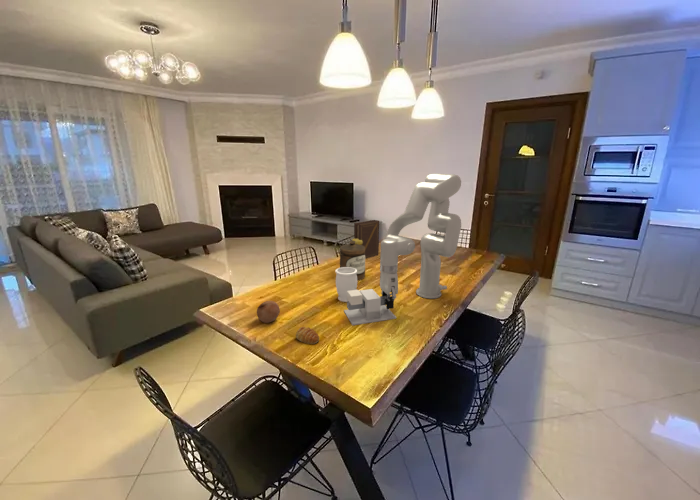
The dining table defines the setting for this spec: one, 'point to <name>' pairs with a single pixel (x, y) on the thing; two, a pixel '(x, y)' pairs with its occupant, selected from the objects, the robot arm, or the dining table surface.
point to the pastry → (307, 335)
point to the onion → (268, 311)
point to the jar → (345, 281)
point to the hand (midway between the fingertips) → (387, 305)
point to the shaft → (359, 306)
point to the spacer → (354, 297)
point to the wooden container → (353, 258)
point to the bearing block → (369, 310)
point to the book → (367, 236)
